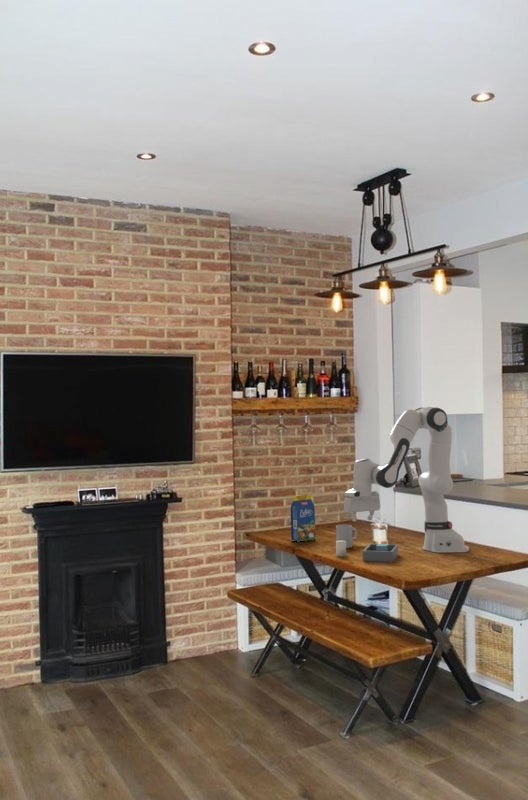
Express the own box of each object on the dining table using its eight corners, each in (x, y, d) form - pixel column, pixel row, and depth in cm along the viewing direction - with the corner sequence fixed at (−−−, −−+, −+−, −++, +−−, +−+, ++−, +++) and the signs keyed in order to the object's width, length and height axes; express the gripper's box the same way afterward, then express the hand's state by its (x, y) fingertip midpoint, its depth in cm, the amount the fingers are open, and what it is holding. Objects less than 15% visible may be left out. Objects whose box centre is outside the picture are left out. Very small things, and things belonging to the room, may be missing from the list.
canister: (347, 554, 365) (347, 540, 365) (345, 556, 360) (344, 542, 360) (337, 554, 366) (337, 540, 367) (335, 556, 362) (334, 542, 362)
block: (378, 554, 361) (377, 543, 361) (388, 554, 360) (388, 544, 360) (376, 556, 356) (376, 545, 356) (386, 556, 355) (386, 546, 355)
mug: (341, 548, 380) (341, 527, 380) (333, 546, 388) (332, 525, 388) (361, 546, 385) (360, 525, 386) (352, 543, 393) (352, 523, 393)
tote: (398, 555, 361) (398, 544, 361) (392, 562, 343) (392, 551, 344) (369, 554, 365) (369, 543, 365) (363, 561, 348) (362, 550, 348)
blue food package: (315, 540, 407) (314, 494, 408) (298, 542, 401) (296, 496, 401) (308, 538, 413) (307, 493, 413) (291, 541, 406) (290, 495, 406)
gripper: (374, 490, 368) (374, 518, 368) (341, 492, 357) (341, 521, 357) (383, 491, 363) (383, 519, 362) (350, 493, 352) (350, 523, 352)
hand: (362, 520), depth 360 cm, fingers open, 8 cm apart
